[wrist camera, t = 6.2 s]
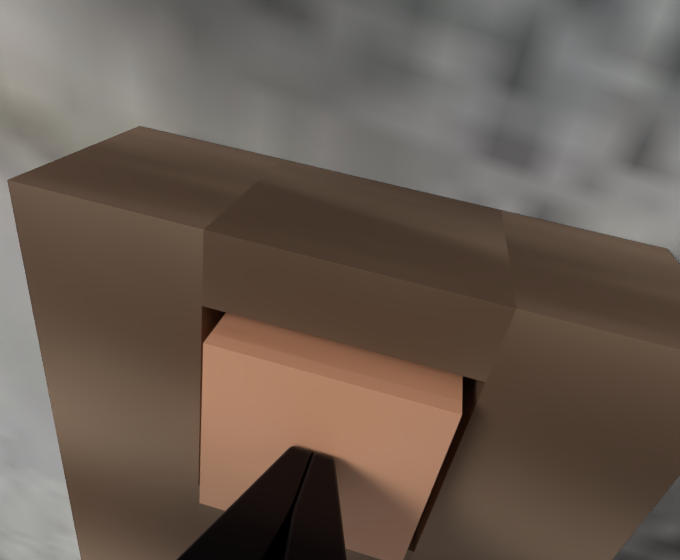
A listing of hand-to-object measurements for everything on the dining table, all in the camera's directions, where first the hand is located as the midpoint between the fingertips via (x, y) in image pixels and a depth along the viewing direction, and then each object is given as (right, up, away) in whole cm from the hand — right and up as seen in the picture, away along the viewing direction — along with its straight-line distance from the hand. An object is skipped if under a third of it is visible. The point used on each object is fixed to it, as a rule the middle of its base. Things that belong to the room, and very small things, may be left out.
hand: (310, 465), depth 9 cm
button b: (+1, +2, +3) cm, 3 cm away
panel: (0, -2, +6) cm, 6 cm away
